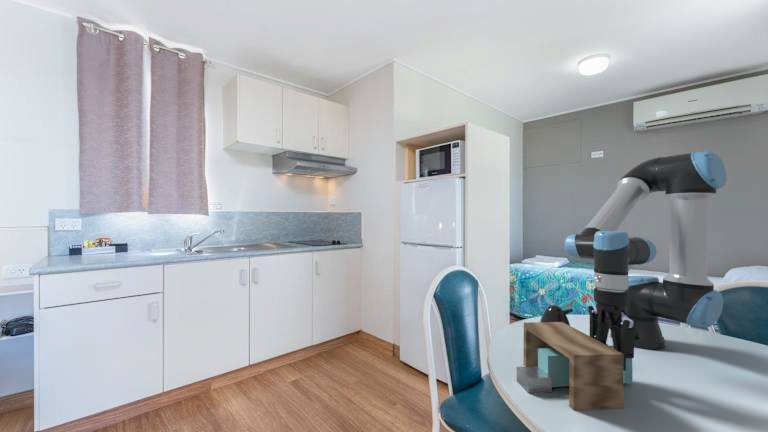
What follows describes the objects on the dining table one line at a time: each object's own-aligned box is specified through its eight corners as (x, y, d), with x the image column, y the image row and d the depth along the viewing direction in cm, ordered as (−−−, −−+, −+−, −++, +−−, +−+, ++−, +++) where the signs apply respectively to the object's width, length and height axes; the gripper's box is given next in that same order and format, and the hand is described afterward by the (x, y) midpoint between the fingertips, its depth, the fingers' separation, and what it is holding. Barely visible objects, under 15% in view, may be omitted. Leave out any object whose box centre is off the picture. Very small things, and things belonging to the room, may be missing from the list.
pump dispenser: (578, 360, 96) (579, 310, 96) (542, 357, 98) (542, 308, 98) (566, 346, 106) (567, 302, 106) (533, 344, 108) (534, 300, 108)
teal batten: (618, 374, 86) (618, 345, 86) (632, 382, 82) (632, 352, 82) (538, 378, 84) (537, 348, 84) (548, 387, 80) (547, 356, 80)
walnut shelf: (561, 363, 94) (562, 321, 94) (623, 408, 72) (623, 354, 72) (523, 364, 93) (523, 322, 93) (573, 410, 71) (574, 355, 71)
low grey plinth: (538, 381, 84) (538, 366, 84) (551, 393, 78) (551, 377, 78) (516, 381, 84) (516, 366, 84) (528, 394, 78) (528, 378, 78)
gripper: (574, 282, 92) (574, 361, 92) (625, 297, 75) (624, 395, 75) (598, 281, 93) (598, 360, 93) (654, 297, 75) (653, 394, 75)
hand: (610, 376), depth 84 cm, fingers closed on teal batten, 4 cm apart
